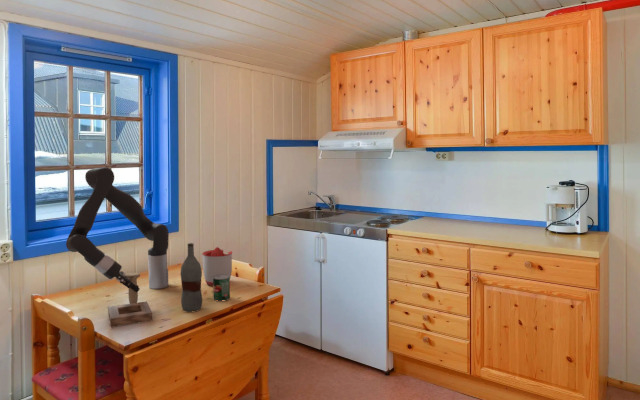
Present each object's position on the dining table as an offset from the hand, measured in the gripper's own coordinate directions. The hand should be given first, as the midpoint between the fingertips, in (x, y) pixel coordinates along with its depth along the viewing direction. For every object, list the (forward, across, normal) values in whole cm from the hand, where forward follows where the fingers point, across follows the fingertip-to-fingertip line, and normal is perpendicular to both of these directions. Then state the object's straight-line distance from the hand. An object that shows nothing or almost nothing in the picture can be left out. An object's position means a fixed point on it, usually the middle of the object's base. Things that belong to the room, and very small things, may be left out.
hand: (137, 289), depth 213 cm
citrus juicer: (+36, +18, -25) cm, 47 cm away
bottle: (+20, -16, -9) cm, 27 cm away
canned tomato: (+32, -8, -21) cm, 39 cm away
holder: (+2, -15, +9) cm, 17 cm away
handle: (+4, 0, +7) cm, 8 cm away
